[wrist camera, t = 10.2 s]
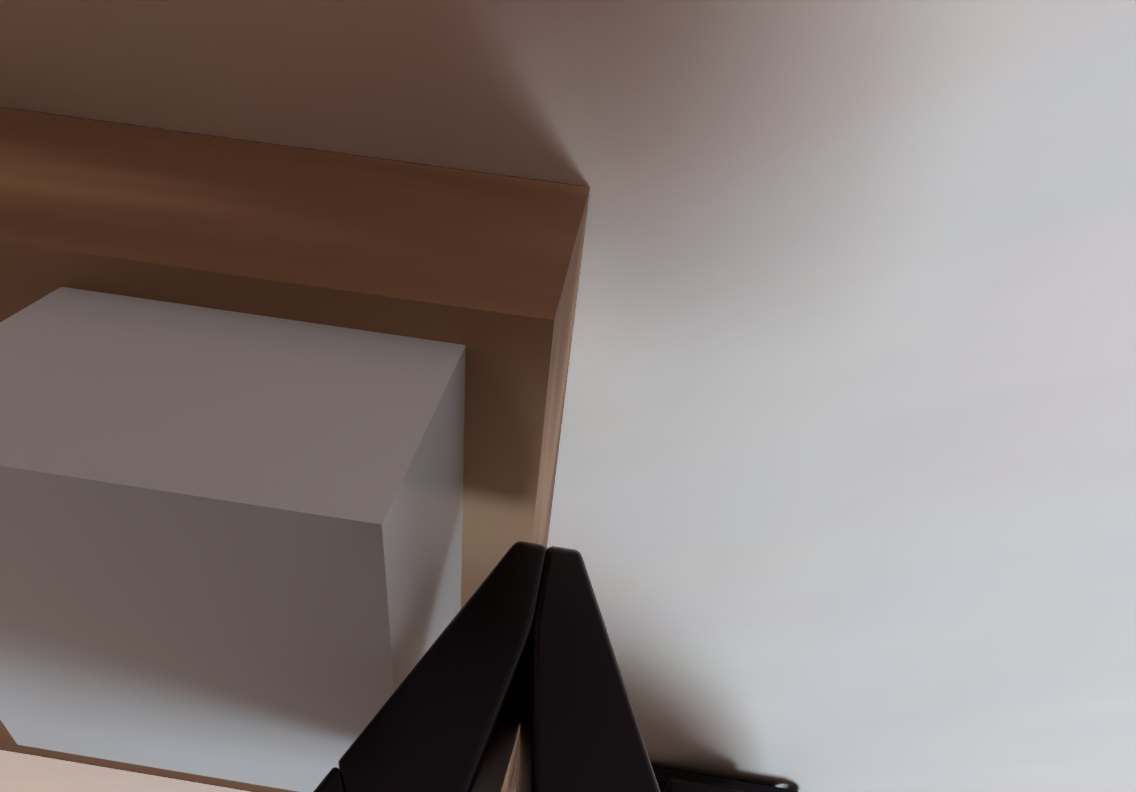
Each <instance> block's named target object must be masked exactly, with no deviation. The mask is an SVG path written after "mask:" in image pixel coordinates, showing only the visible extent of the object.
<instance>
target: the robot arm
mask: <svg viewBox="0 0 1136 792" xmlns="http://www.w3.org/2000/svg"><path fill="white" fill-rule="evenodd" d="M519 726H520V732H519V747H518V768H517V788H516V792H798V791H795V790H790V789H784V788H778V787H772V786H766V785H760V784H754V783H747V782H741V781H735V780H729V779H723V778H717V777H711V776H704V775H698V774H692V773H686V772H680V771H674V770H667V769H661V768H655V767H652V765H651V762H650V759H649V756H648V753H647V750H646V747H645V744H644V741H643V738H642V735H641V732H640V729H639V726H638V723H637V720H636V717H635V714H634V711H633V708H632V705H631V702H630V699H629V696H628V693H627V690H626V687H625V684H624V681H623V678H622V675H621V672H620V669H619V666H618V663H617V660H616V657H615V654H614V651H613V648H612V645H611V642H610V639H609V636H608V633H607V630H606V627H605V624H604V621H603V618H602V615H601V612H600V609H599V606H598V603H597V600H596V597H595V594H594V591H593V588H592V585H591V582H590V579H589V576H588V573H587V570H586V567H585V564H584V561H583V558H582V556H581V554H580V552H578V551H577V550H573V549H567V548H561V547H554V546H552V547H549V548H548V549H547V547H546V546H545V545H542V544H536V543H529V542H523V541H518V542H516V543H515V544H513V545H512V547H511V548H510V549H509V550H508V551H507V553H506V554H505V555H504V556H503V558H502V559H501V560H500V561H499V563H498V564H497V565H496V566H495V568H494V569H493V570H492V571H491V573H490V574H489V575H488V576H487V577H486V579H485V580H484V581H483V582H482V584H481V585H480V586H479V587H478V589H477V590H476V591H475V592H474V594H473V595H472V596H471V597H470V599H469V600H468V601H467V602H466V604H465V605H464V606H463V607H462V608H461V610H460V611H459V612H458V613H457V615H456V616H455V617H454V618H453V620H452V621H451V622H450V623H449V625H448V626H447V627H446V628H445V630H444V631H443V632H442V633H441V635H440V636H439V637H438V638H437V639H436V641H435V642H434V643H433V644H432V646H431V647H430V648H429V649H428V651H427V652H426V653H425V654H424V656H423V657H422V658H421V659H420V661H419V662H418V663H417V664H416V665H415V667H414V668H413V669H412V670H411V672H410V673H409V674H408V675H407V677H406V678H405V679H404V680H403V682H402V683H401V684H400V685H399V687H398V688H397V689H396V690H395V692H394V693H393V694H392V695H391V696H390V698H389V699H388V700H387V701H386V703H385V704H384V705H383V706H382V708H381V709H380V710H379V711H378V713H377V714H376V715H375V716H374V718H373V719H372V720H371V721H370V723H369V724H368V725H367V726H366V727H365V729H364V730H363V731H362V732H361V734H360V735H359V736H358V737H357V739H356V740H355V741H354V742H353V744H352V745H351V746H350V747H349V749H348V750H347V751H346V752H345V754H344V755H343V756H342V757H341V758H340V760H339V762H338V767H339V769H338V768H337V767H334V768H332V769H331V770H330V772H329V773H328V774H327V775H326V777H325V778H324V779H323V780H322V781H321V783H320V784H319V785H318V786H317V788H316V789H315V790H314V791H313V792H501V790H502V786H503V783H504V779H505V776H506V773H507V769H508V766H509V762H510V759H511V755H512V752H513V748H514V745H515V741H516V737H517V734H518V730H519Z"/></svg>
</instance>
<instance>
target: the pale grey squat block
mask: <svg viewBox="0 0 1136 792" xmlns="http://www.w3.org/2000/svg"><path fill="white" fill-rule="evenodd" d="M465 359H466V345H461V344H454V343H447V342H440V341H433V340H427V339H420V338H413V337H406V336H399V335H392V334H385V333H378V332H371V331H364V330H357V329H351V328H344V327H337V326H330V325H323V324H316V323H309V322H302V321H295V320H288V319H281V318H274V317H268V316H261V315H254V314H247V313H240V312H233V311H226V310H219V309H212V308H205V307H198V306H192V305H185V304H178V303H171V302H164V301H157V300H150V299H143V298H136V297H129V296H122V295H115V294H108V293H102V292H95V291H88V290H81V289H74V288H67V287H60V288H58V289H56V290H55V291H53V292H51V293H50V294H48V295H46V296H45V297H43V298H41V299H39V300H38V301H36V302H34V303H33V304H31V305H29V306H28V307H26V308H24V309H22V310H21V311H19V312H17V313H16V314H14V315H12V316H11V317H9V318H7V319H6V320H4V321H2V322H0V720H1V721H2V723H3V724H4V726H5V727H6V729H7V730H8V732H9V733H10V735H11V736H12V737H13V739H14V740H15V742H16V743H17V745H22V746H28V747H34V748H40V749H46V750H52V751H58V752H64V753H70V754H76V755H82V756H88V757H94V758H100V759H106V760H112V761H118V762H124V763H130V764H136V765H142V766H148V767H154V768H160V769H166V770H172V771H178V772H184V773H190V774H196V775H202V776H208V777H214V778H219V779H225V780H231V781H237V782H243V783H249V784H255V785H261V786H267V787H273V788H279V789H285V790H291V791H297V792H313V791H314V790H315V789H316V788H317V786H318V785H319V784H320V783H321V781H322V780H323V779H324V778H325V777H326V775H327V774H328V773H329V772H330V770H331V769H332V768H334V767H337V768H338V769H339V767H338V762H339V760H340V758H341V757H342V756H343V755H344V754H345V752H346V751H347V750H348V749H349V747H350V746H351V745H352V744H353V742H354V741H355V740H356V739H357V737H358V736H359V735H360V734H361V732H362V731H363V730H364V729H365V727H366V726H367V725H368V724H369V723H370V721H371V720H372V719H373V718H374V716H375V715H376V714H377V713H378V711H379V710H380V709H381V708H382V706H383V705H384V704H385V703H386V701H387V700H388V699H389V698H390V696H391V695H392V694H393V693H394V692H395V690H396V689H397V688H398V687H399V685H400V684H401V683H402V682H403V680H404V679H405V678H406V677H407V675H408V674H409V673H410V672H411V670H412V669H413V668H414V667H415V665H416V664H417V663H418V662H419V661H420V659H421V658H422V657H423V656H424V654H425V653H426V652H427V651H428V649H429V648H430V647H431V646H432V644H433V643H434V642H435V641H436V639H437V638H438V637H439V636H440V635H441V633H442V632H443V631H444V630H445V628H446V627H447V626H448V625H449V623H450V622H451V621H452V620H453V618H454V617H455V616H456V615H457V613H458V612H459V611H460V610H461V576H462V521H463V467H464V413H465Z"/></svg>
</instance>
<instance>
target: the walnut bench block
mask: <svg viewBox="0 0 1136 792" xmlns="http://www.w3.org/2000/svg"><path fill="white" fill-rule="evenodd" d="M589 190H590V187H584V186H576V185H569V184H562V183H554V182H547V181H539V180H532V179H525V178H517V177H510V176H503V175H495V174H488V173H480V172H473V171H466V170H458V169H451V168H443V167H436V166H429V165H421V164H414V163H407V162H399V161H392V160H384V159H377V158H370V157H362V156H355V155H348V154H340V153H333V152H325V151H318V150H311V149H303V148H296V147H289V146H281V145H274V144H266V143H259V142H252V141H244V140H237V139H230V138H222V137H215V136H207V135H200V134H193V133H185V132H178V131H171V130H163V129H156V128H148V127H141V126H134V125H126V124H119V123H112V122H104V121H97V120H89V119H82V118H75V117H67V116H60V115H53V114H45V113H38V112H30V111H23V110H16V109H8V108H1V107H0V322H2V321H4V320H6V319H7V318H9V317H11V316H12V315H14V314H16V313H17V312H19V311H21V310H22V309H24V308H26V307H28V306H29V305H31V304H33V303H34V302H36V301H38V300H39V299H41V298H43V297H45V296H46V295H48V294H50V293H51V292H53V291H55V290H56V289H58V288H60V287H67V288H74V289H81V290H88V291H95V292H102V293H108V294H115V295H122V296H129V297H136V298H143V299H150V300H157V301H164V302H171V303H178V304H185V305H192V306H198V307H205V308H212V309H219V310H226V311H233V312H240V313H247V314H254V315H261V316H268V317H274V318H281V319H288V320H295V321H302V322H309V323H316V324H323V325H330V326H337V327H344V328H351V329H357V330H364V331H371V332H378V333H385V334H392V335H399V336H406V337H413V338H420V339H427V340H433V341H440V342H447V343H454V344H461V345H466V359H465V413H464V467H463V521H462V576H461V608H462V607H463V606H464V605H465V604H466V602H467V601H468V600H469V599H470V597H471V596H472V595H473V594H474V592H475V591H476V590H477V589H478V587H479V586H480V585H481V584H482V582H483V581H484V580H485V579H486V577H487V576H488V575H489V574H490V573H491V571H492V570H493V569H494V568H495V566H496V565H497V564H498V563H499V561H500V560H501V559H502V558H503V556H504V555H505V554H506V553H507V551H508V550H509V549H510V548H511V547H512V545H513V544H515V543H516V542H518V541H523V542H529V543H536V544H542V545H545V546H546V547H547V540H548V532H549V524H550V515H551V507H552V499H553V490H554V482H555V474H556V465H557V457H558V449H559V440H560V432H561V424H562V415H563V407H564V399H565V390H566V382H567V373H568V365H569V357H570V348H571V340H572V332H573V323H574V315H575V307H576V298H577V290H578V282H579V273H580V265H581V257H582V248H583V240H584V232H585V223H586V215H587V207H588V198H589ZM519 732H520V726H519V730H518V734H517V737H516V741H515V745H514V748H513V752H512V755H511V759H510V762H509V766H508V769H507V773H506V776H505V779H504V783H503V786H502V790H501V792H510V786H511V780H512V774H513V768H514V763H515V757H516V751H517V745H518V739H519ZM0 750H6V751H12V752H18V753H24V754H30V755H36V756H42V757H48V758H54V759H60V760H66V761H72V762H78V763H84V764H90V765H96V766H102V767H108V768H114V769H120V770H126V771H132V772H138V773H144V774H150V775H156V776H162V777H168V778H174V779H180V780H186V781H192V782H198V783H204V784H210V785H216V786H222V787H228V788H234V789H240V790H245V791H251V792H297V791H291V790H285V789H279V788H273V787H267V786H261V785H255V784H249V783H243V782H237V781H231V780H225V779H219V778H214V777H208V776H202V775H196V774H190V773H184V772H178V771H172V770H166V769H160V768H154V767H148V766H142V765H136V764H130V763H124V762H118V761H112V760H106V759H100V758H94V757H88V756H82V755H76V754H70V753H64V752H58V751H52V750H46V749H40V748H34V747H28V746H22V745H17V743H16V742H15V740H14V739H13V737H12V736H11V735H10V733H9V732H8V730H7V729H6V727H5V726H4V724H3V723H2V721H1V720H0Z"/></svg>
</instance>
